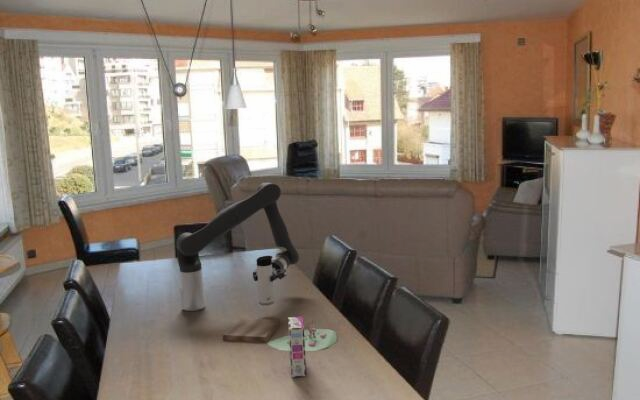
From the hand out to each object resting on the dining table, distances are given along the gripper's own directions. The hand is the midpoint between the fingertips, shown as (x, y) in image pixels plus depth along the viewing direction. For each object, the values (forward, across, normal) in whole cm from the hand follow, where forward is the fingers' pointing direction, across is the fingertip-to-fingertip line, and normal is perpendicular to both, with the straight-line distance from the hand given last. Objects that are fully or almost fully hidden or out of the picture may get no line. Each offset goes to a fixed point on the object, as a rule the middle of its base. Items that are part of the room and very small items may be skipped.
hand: (263, 279), depth 240 cm
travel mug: (-2, 0, +11) cm, 11 cm away
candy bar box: (+46, +27, +16) cm, 56 cm away
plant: (+23, +22, +17) cm, 36 cm away
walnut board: (+17, 0, +16) cm, 23 cm away
